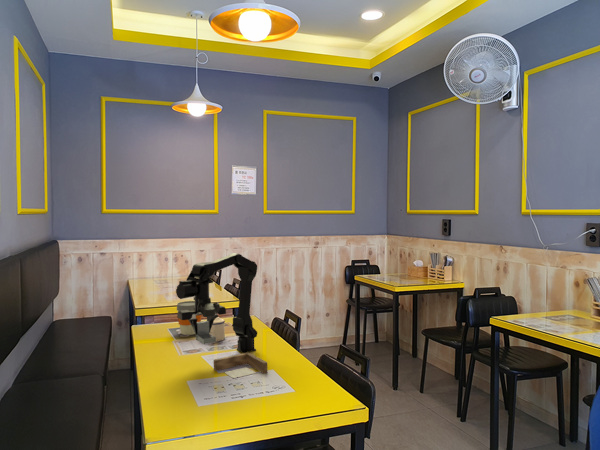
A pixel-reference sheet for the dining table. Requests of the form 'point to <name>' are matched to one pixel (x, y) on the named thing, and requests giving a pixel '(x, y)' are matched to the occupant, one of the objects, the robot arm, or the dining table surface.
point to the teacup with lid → (218, 329)
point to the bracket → (204, 333)
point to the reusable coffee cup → (185, 324)
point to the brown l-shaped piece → (241, 362)
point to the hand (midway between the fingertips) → (202, 333)
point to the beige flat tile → (240, 372)
